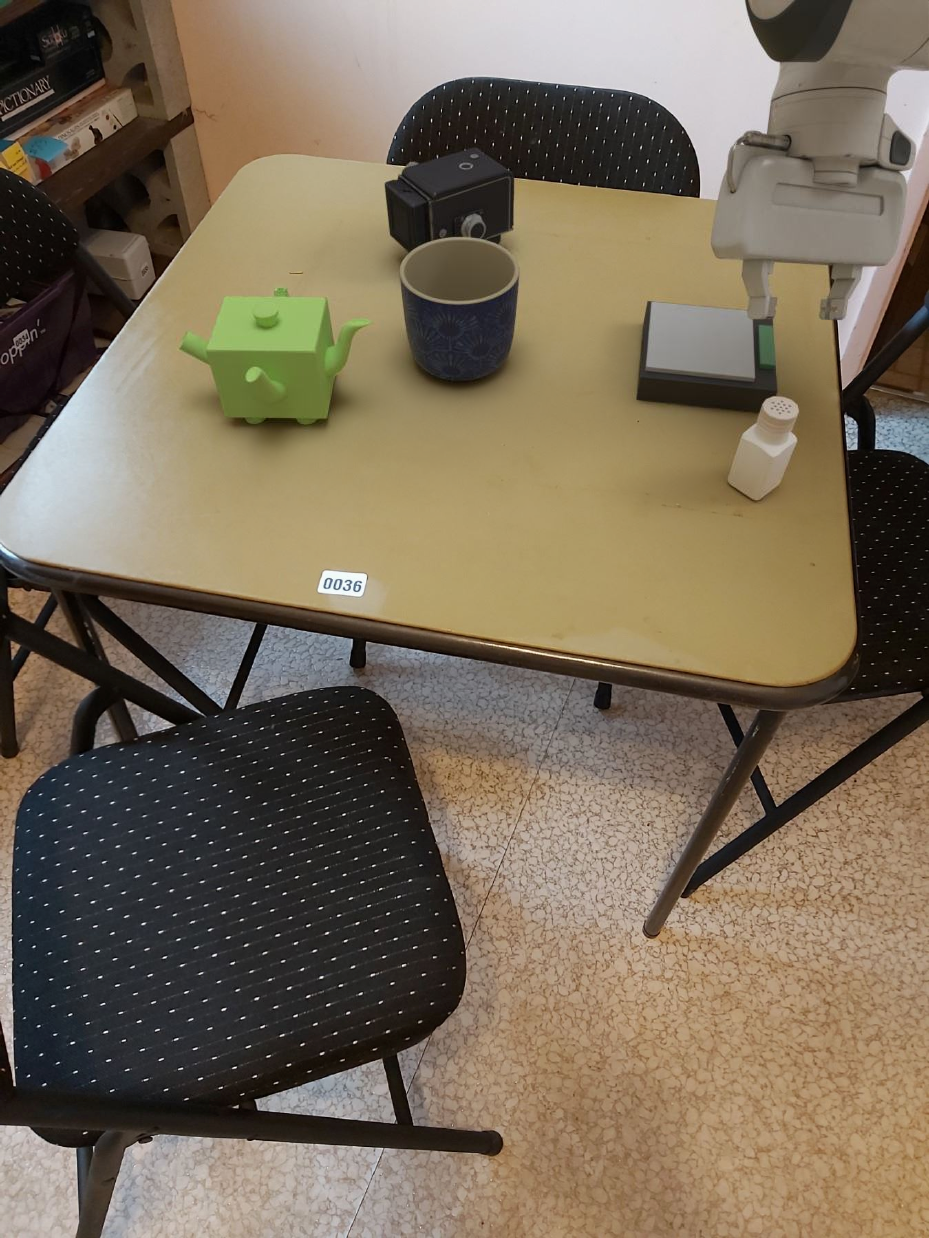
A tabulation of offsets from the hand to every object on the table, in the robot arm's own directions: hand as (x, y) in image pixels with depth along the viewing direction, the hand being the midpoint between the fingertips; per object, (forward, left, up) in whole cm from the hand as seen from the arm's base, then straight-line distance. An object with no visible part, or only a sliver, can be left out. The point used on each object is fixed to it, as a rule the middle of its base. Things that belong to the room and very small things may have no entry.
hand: (797, 319), depth 74 cm
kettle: (+49, +2, -15) cm, 51 cm away
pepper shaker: (0, +6, -15) cm, 16 cm away
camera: (+37, -30, -15) cm, 50 cm away
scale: (+5, -12, -15) cm, 20 cm away
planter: (+32, -9, -15) cm, 37 cm away
